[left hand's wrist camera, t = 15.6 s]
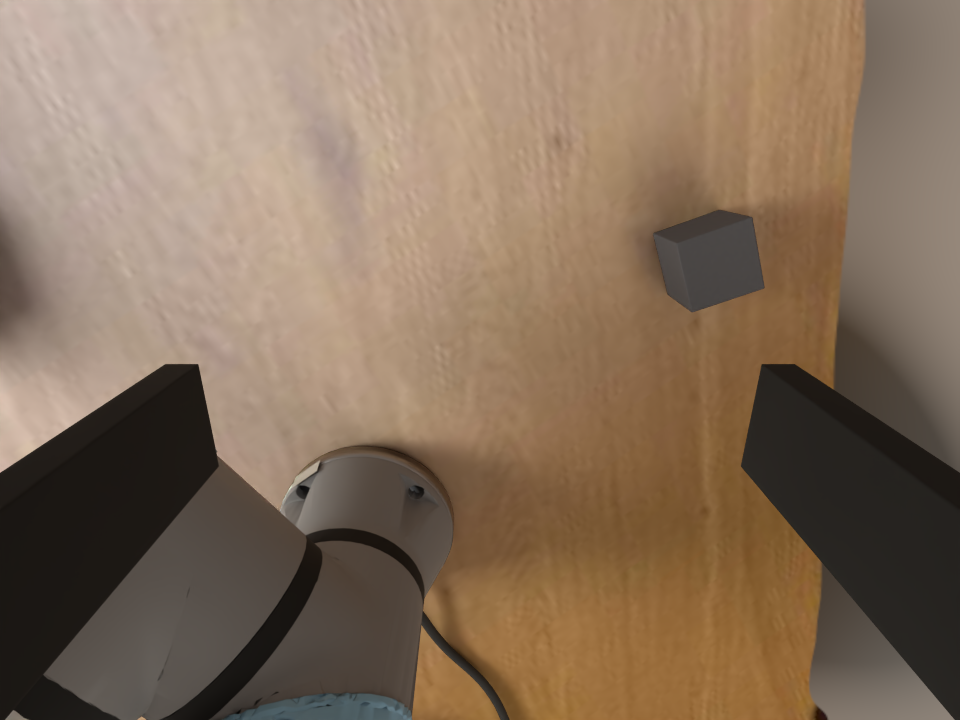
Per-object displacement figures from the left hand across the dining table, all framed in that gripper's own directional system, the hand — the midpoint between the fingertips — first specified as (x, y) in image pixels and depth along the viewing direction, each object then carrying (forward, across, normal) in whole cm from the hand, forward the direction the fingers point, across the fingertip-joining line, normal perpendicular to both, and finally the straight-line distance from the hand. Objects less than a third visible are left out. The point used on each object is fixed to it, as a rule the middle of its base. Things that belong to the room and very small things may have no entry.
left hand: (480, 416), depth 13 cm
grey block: (+29, -16, +1) cm, 33 cm away
